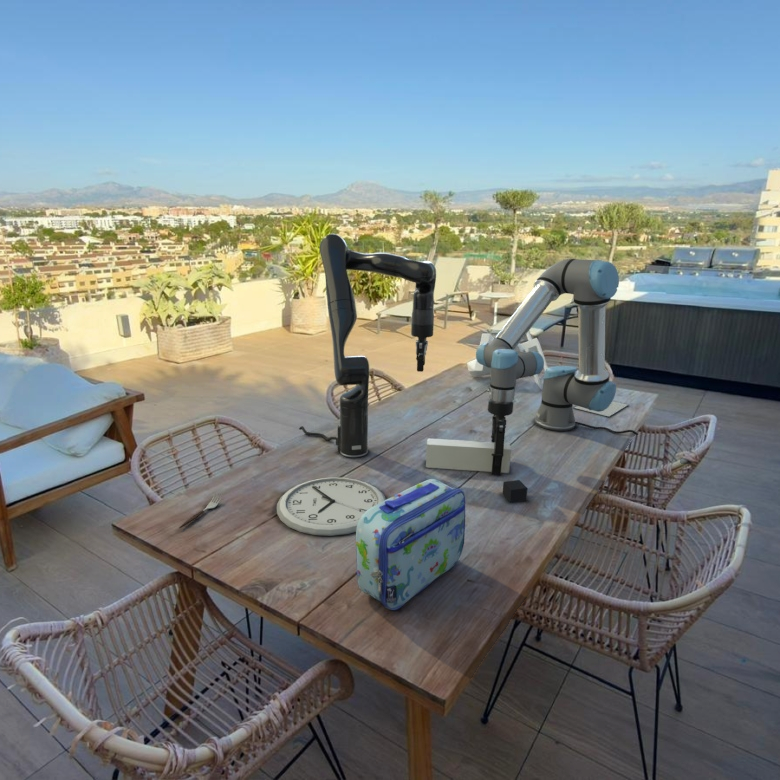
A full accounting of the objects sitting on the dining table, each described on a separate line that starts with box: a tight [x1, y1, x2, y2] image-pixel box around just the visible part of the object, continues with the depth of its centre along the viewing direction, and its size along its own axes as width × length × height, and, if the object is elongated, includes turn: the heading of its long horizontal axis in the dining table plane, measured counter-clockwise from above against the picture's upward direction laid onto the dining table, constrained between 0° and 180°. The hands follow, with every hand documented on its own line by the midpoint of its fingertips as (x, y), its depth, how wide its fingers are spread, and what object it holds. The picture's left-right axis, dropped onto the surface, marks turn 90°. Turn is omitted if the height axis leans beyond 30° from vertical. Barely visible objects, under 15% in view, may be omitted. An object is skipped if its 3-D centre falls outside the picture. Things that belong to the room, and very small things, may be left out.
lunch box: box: [355, 478, 466, 611], centre depth 110 cm, size 26×11×21 cm, turn 134°
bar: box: [425, 437, 512, 474], centre depth 166 cm, size 26×5×8 cm, turn 83°
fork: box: [178, 493, 223, 529], centre depth 137 cm, size 3×16×2 cm, turn 160°
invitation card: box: [573, 400, 629, 418], centre depth 226 cm, size 21×1×15 cm
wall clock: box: [276, 476, 387, 537], centre depth 142 cm, size 30×2×30 cm
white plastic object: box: [466, 306, 549, 390], centre depth 259 cm, size 37×45×31 cm
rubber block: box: [502, 479, 528, 503], centre depth 148 cm, size 5×5×4 cm
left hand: (420, 368), depth 182 cm, fingers open, 8 cm apart
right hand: (495, 467), depth 166 cm, fingers open, 8 cm apart
